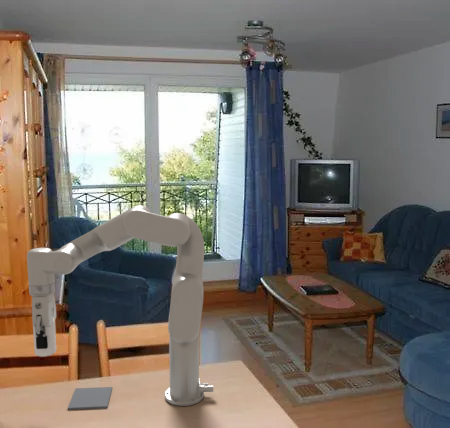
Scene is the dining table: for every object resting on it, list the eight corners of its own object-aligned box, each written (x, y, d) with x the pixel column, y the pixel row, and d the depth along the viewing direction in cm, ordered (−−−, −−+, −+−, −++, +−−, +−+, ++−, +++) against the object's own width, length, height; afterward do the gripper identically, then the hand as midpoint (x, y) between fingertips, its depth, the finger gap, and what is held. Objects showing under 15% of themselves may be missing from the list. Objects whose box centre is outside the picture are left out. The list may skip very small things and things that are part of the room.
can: (49, 358, 149) (47, 320, 147) (30, 356, 150) (28, 319, 148) (60, 349, 155) (58, 313, 153) (42, 347, 156) (40, 311, 155)
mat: (112, 388, 163) (112, 386, 163) (107, 407, 151) (107, 406, 151) (75, 390, 162) (75, 388, 162) (67, 409, 150) (67, 407, 150)
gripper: (47, 296, 141) (50, 355, 144) (61, 280, 158) (63, 332, 161) (20, 297, 141) (24, 356, 143) (37, 280, 158) (40, 333, 160)
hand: (45, 343), depth 152 cm, fingers closed on can, 6 cm apart
